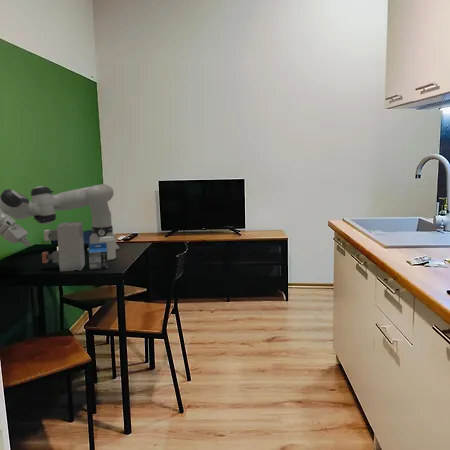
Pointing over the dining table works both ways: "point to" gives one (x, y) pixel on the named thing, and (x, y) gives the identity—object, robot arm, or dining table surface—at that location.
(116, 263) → the dining table surface
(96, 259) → the label tape box
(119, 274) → the dining table surface
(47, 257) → the brown block
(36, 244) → the dining table surface
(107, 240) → the beverage can
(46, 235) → the white key
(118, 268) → the dining table surface
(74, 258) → the box
